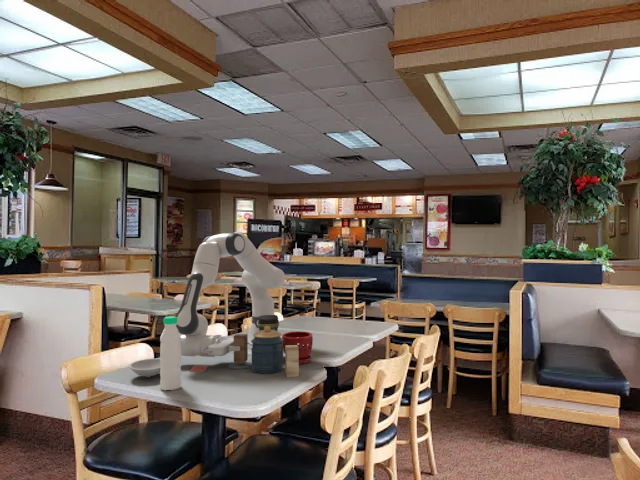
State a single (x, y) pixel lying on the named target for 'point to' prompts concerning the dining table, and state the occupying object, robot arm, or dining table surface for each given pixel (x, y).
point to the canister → (267, 351)
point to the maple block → (292, 360)
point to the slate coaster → (240, 365)
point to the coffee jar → (268, 322)
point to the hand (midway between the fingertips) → (242, 346)
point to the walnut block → (243, 353)
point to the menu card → (199, 368)
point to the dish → (146, 367)
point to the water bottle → (170, 355)
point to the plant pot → (303, 339)
